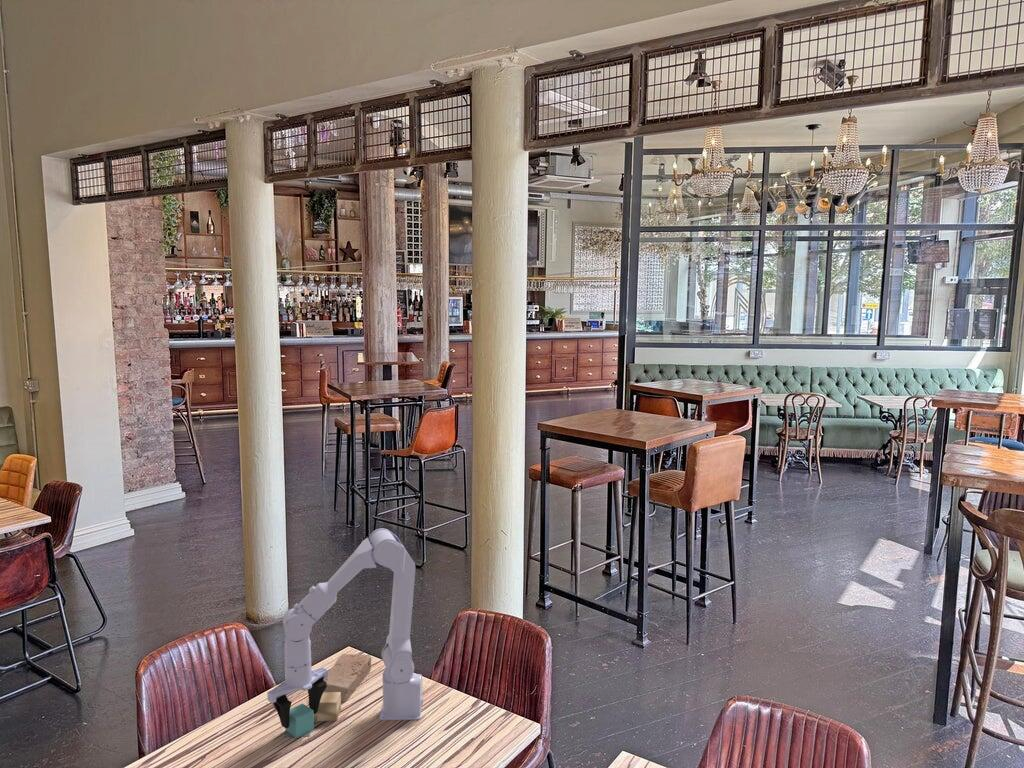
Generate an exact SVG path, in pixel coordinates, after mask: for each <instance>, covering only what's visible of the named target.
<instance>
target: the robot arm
mask: <svg viewBox="0 0 1024 768" xmlns="http://www.w3.org/2000/svg"><path fill="white" fill-rule="evenodd" d="M376 563H377V564H378V565H381V566H382V567H385V568H387V569H389V570H390V571H392V572H393V580H392V590H391V591H392V592H391V606H390V607H391V608H390V620H389V630H388V635H387V636H386V639H385V640H386V641H385V645H384V646H383V648H382V650H381V661H382V662H383V663H384V666H385V668H384V671H383V672H382V707H381V711H380V713H379V721H414V720H420V719H421V714H422V707H423V706H424V697H423V675H422V674H421V673H415V663H414V661H413V658H412V655H413V654H412V653H413V652H412V651H413V650H412V643H411V630H412V629H411V627H412V616H413V615H412V614H413V606H414V605H413V604H414V603H413V601H414V592H415V591H414V590H415V580H416V579H415V577H416V564H415V562H414V560H413V559H412V556H410V554H409V553H408V551H407V549H406V547H405V546H404V544H403V543H402V542H401V540H400V539H399V537H398V536H397V535H396V534H395V533H393V532H392V531H391V530H389V529H387V528H384V527H383V528H381V527H380V528H377V529H375V530H373V531H372V532H371V533H370V534H369V537H366V538H365V539H363V540H362V541H361V543H360V544H359V545H358V547H357V548H356V549H355V550H354V551H353V553H352V554H351V555H350V556H349V557H348V558H347V560H346V561H345V562H344V563H342V565H341V566H340V567H339V568H338V569H337V571H336V572H335V573H334V574H333V575H332V576H331V577H330V578H329V579H328V580H327V581H326V582H319V583H317V584H316V585H315V586H314V585H311V586H310V587H309V589H308V591H309V592H308V594H307V595H306V596H304V598H302V599H301V601H300V602H299V603H298V602H296V603H295V604H294V605H293V608H290V609H288V610H287V611H286V613H284V614H285V615H284V617H283V619H282V625H283V631H284V634H285V635H284V646H283V648H284V651H283V652H284V675H285V677H284V679H285V680H283V681H282V682H280V683H279V684H278V685H277V686H275V687H274V688H273V689H270V690H269V691H267V697H266V698H267V701H268V702H270V704H272V705H273V707H274V708H275V710H276V712H277V715H278V718H279V721H280V725H281V727H283V728H285V730H286V729H287V728H289V724H290V718H289V714H290V709H291V708H292V703H293V702H292V701H291V700H290V699H288V697H287V696H288V695H290V694H293V693H296V692H298V691H306V692H307V693H308V695H307V696H308V707H309V708H311V709H312V710H314V715H316V714H317V711H318V707H319V703H320V700H321V697H322V694H323V692H324V690H325V689H326V687H327V682H326V681H324V680H323V679H326V678H328V671H329V670H328V669H327V668H326V667H323V666H322V667H320V668H317V669H313V670H312V648H311V647H312V642H311V639H310V635H311V633H312V630H313V625H314V624H315V623H316V622H317V621H318V620H319V619H320V618H321V617H322V616H323V615H325V613H326V612H327V611H328V610H329V609H330V608H331V607H332V606H334V604H335V603H336V602H337V597H338V592H339V591H340V590H341V589H343V588H344V587H345V586H346V585H347V584H349V582H350V581H352V579H354V577H356V576H357V575H358V574H359V573H360V572H361V571H362V570H363V569H375V568H377V564H376Z"/></svg>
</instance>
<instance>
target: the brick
mask: <svg viewBox="0 0 1024 768" xmlns="http://www.w3.org/2000/svg"><path fill="white" fill-rule="evenodd" d="M371 668H372V656H370V655H367V654H359V653H353V654H351V653H342V654H341V655H340V656H339V658H337V660H336V661H335V663H334V665H333V666H331V668H329V670H328V678H326V679H323V680H324V681H326V682H327V687H326V689H325V690H324V692H341V703H346V702H347V701H348V700H349V699H350V698H351V696H353V693H355V691H356V690H357V688H358V687H359V686H360V685H361V684H362V682H363V681H364V680H365V678H366V677H367V676H368V675H369V673H370V671H371V670H372V669H371Z"/></svg>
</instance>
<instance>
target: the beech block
mask: <svg viewBox="0 0 1024 768" xmlns="http://www.w3.org/2000/svg"><path fill="white" fill-rule="evenodd" d="M341 711H342V702H341V692H323V694H322V697H321V700H320V703H319V707H318V711H317V713H316V714H317V722H336V721H338V719H339V716H340V714H341Z"/></svg>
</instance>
